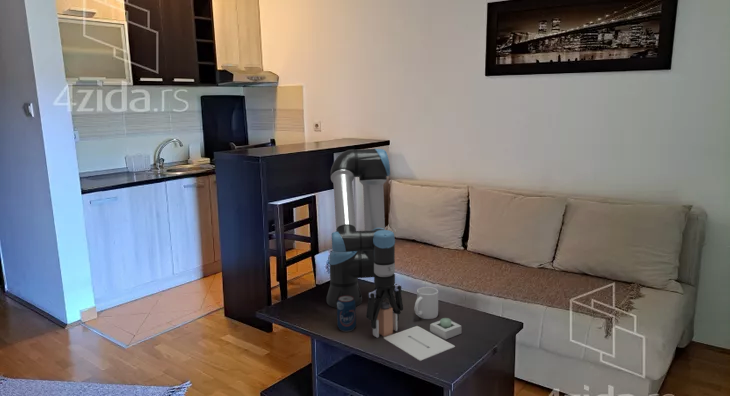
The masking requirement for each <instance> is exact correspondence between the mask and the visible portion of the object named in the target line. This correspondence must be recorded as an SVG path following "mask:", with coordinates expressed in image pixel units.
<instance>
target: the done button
mask: <svg viewBox="0 0 730 396" xmlns="http://www.w3.org/2000/svg"><path fill="white" fill-rule="evenodd" d="M439 321H440V326H441V327H443V328H445V329H447V328H450V327H451V321H452V319H451V318H449V317H442V318H440V320H439Z"/></svg>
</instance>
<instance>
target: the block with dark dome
mask: <svg viewBox="0 0 730 396" xmlns="http://www.w3.org/2000/svg"><path fill="white" fill-rule="evenodd" d="M393 312H394V311H393V308H392V307H391V305H390V302H385V301H383V303H382V304H381V307H380V311H379V314H378V317H377V320H379V336H380V335H381V336H382V337H383V338H384V337H387V336H390V335H393V334H394V330H393Z"/></svg>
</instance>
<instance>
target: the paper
mask: <svg viewBox="0 0 730 396" xmlns="http://www.w3.org/2000/svg"><path fill="white" fill-rule="evenodd" d="M383 339H384V340H385V341H387V342H389V343H390V344H391V345H393V346H395V347H397V348H398V349H400V350H402V352H405V353H406V354H407V355H409V356H411V357H413V358H414V359H416V360H418V361H419V362H421V361H424V360H427V359H429V358H432V357H434V356H437V355H438V354H441V353H444V352H446V351H449V350H451V349H454V348H455V347H456V346H455V345H454V344H452V343H450V342H448V341H446V340H445V339H443V338H441V337H439V336H437V335H436V334H434V333H432V332H430V331H428V330H426V329H424V328H422V327H420V326H418V325H416V326H413V327H410V328H407V329H404V330H401V331H399V332H398V331H397V332H396V333H393V334H390V335H388V336H385V337H384V336H383Z"/></svg>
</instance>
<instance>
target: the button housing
mask: <svg viewBox="0 0 730 396" xmlns="http://www.w3.org/2000/svg"><path fill="white" fill-rule="evenodd" d="M429 332H430V333H432V334H434V335H435V336H437V337H439V338H441V339H443V340H445V341H446V340H448V339H451V338H453V337H457V336H458V335H461V334H462V325H460V324H459V323H457V322H455V321H453V320H451V327H450V328H447V329H445V328H443V327H441V326H440V320H437V321H435V322H432V323H430V324H429Z"/></svg>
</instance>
